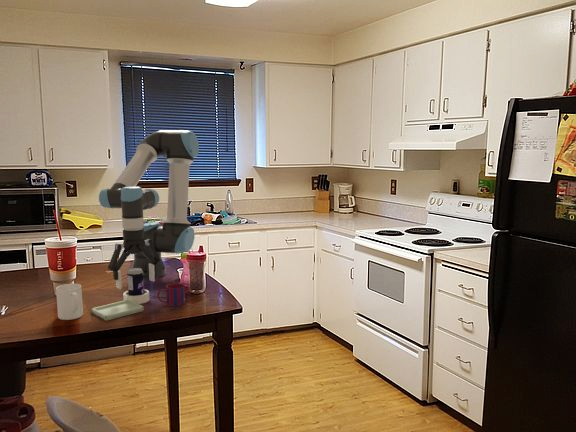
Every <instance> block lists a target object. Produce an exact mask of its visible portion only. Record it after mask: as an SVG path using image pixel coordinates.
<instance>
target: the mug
mask: <svg viewBox="0 0 576 432" xmlns="http://www.w3.org/2000/svg"><path fill="white" fill-rule="evenodd" d="M55 292H56V295H55V296H56V306H57V317H58V319H59V320H62V321H69V320H76V319H79V318H81V317H82V316H83V315H84V310H83V308H84V307H83V292H82V285H81V284H79V283H64V284H60V285H58V286H56V288H55Z"/></svg>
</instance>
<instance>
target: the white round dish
mask: <svg viewBox="0 0 576 432" xmlns="http://www.w3.org/2000/svg"><path fill="white" fill-rule="evenodd" d="M122 297H123V300H122V301H125V300H131V301H133V302H135V303H137V304H139V305H142V304H144V303H146V304H147V303H148V302H149V301H150V290H148V289H145V288H144V294H143V295H138V296H129V294H128V290H126V291H124V292H123V295H122Z"/></svg>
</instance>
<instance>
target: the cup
mask: <svg viewBox="0 0 576 432" xmlns="http://www.w3.org/2000/svg"><path fill="white" fill-rule="evenodd" d="M185 287H186V286H185V284H184V283H177V282H176V283H169V284H166V287H165V288H161V289H158V291H157V299H158V300H159V302H161V303H164V304H166V305H167V306H168V307H181V306H183V305H185V304H186V289H185ZM161 291H164V292H165V294H166V297H165V298H166V300H162V299H161V298H160V293H161Z"/></svg>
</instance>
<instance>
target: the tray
mask: <svg viewBox="0 0 576 432" xmlns="http://www.w3.org/2000/svg"><path fill="white" fill-rule="evenodd" d="M144 307H145V306H143V305H142V304H137V303H135V302H133V301H131V300H125V301H123V300H122V301H121V300H120V301H117V302H113V303H112V302H111V303H108V304H104V305H101V306H95V307H92V308H91V313H92V314H93V315H95V316H97V317H99V318H100V319H101V320H104V321H109V320H113V319H114V320H115V319H119V318H122V317H125V316H130V315H134V314H137V313H141V312H143V311H145V309H144Z"/></svg>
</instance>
